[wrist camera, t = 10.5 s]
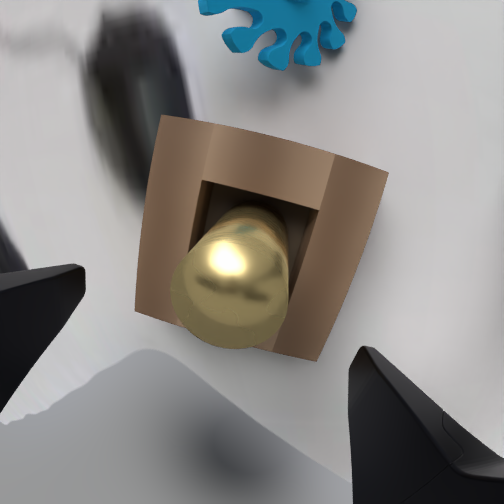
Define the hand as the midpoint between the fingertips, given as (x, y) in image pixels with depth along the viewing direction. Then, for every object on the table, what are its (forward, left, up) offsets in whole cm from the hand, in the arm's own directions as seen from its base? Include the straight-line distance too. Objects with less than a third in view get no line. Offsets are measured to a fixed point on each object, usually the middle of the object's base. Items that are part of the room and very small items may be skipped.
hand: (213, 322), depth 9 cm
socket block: (0, 0, -10) cm, 10 cm away
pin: (0, 0, -9) cm, 9 cm away
